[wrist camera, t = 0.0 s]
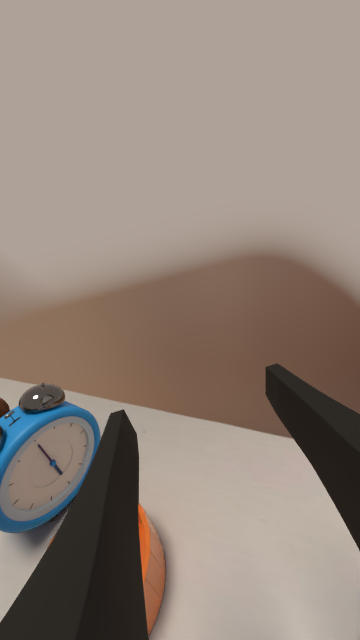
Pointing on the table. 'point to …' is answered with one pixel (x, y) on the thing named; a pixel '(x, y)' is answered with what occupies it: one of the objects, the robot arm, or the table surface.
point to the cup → (151, 567)
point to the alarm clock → (43, 457)
